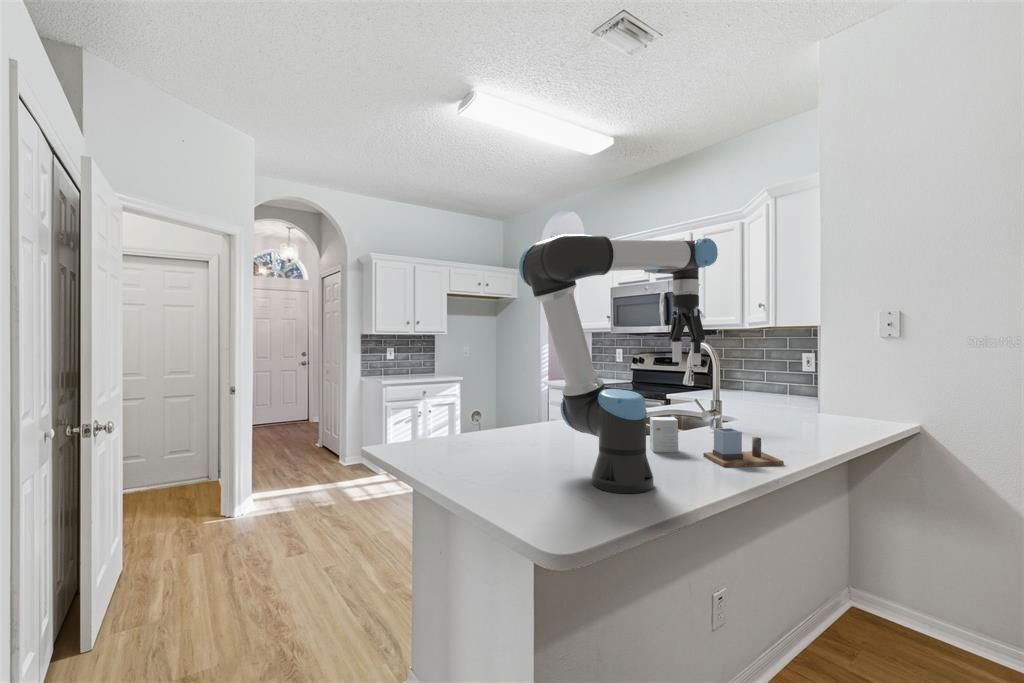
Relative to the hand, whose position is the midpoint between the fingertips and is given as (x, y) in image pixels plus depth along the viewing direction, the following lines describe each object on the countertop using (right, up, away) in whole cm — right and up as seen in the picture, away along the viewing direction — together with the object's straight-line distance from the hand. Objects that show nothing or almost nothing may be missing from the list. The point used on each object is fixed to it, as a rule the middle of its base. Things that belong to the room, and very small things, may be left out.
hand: (686, 363), depth 152 cm
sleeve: (+10, -28, -6) cm, 30 cm away
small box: (-4, -29, +8) cm, 30 cm away
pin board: (+15, -29, -6) cm, 33 cm away
